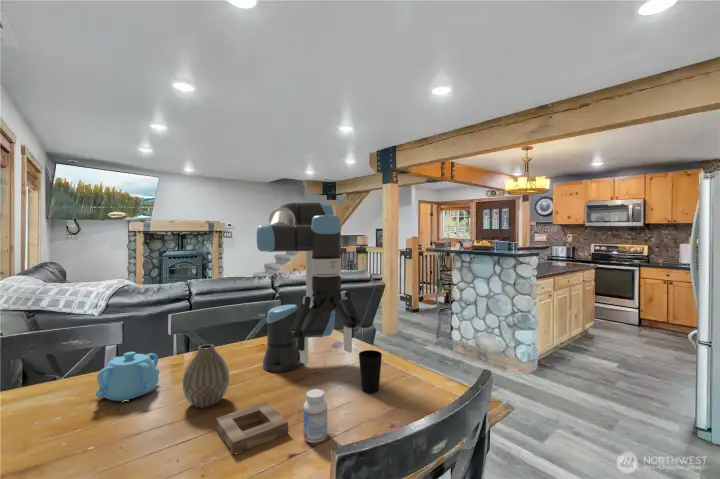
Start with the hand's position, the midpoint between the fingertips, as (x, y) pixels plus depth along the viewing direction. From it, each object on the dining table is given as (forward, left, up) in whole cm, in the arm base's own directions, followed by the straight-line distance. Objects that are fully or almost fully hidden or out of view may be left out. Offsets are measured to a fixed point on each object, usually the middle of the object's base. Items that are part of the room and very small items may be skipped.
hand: (327, 356), depth 88 cm
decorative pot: (-59, -38, -20) cm, 73 cm away
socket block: (-13, -15, -20) cm, 28 cm away
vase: (-37, -20, -20) cm, 47 cm away
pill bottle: (-1, -3, -20) cm, 20 cm away
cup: (-12, +25, -20) cm, 34 cm away
